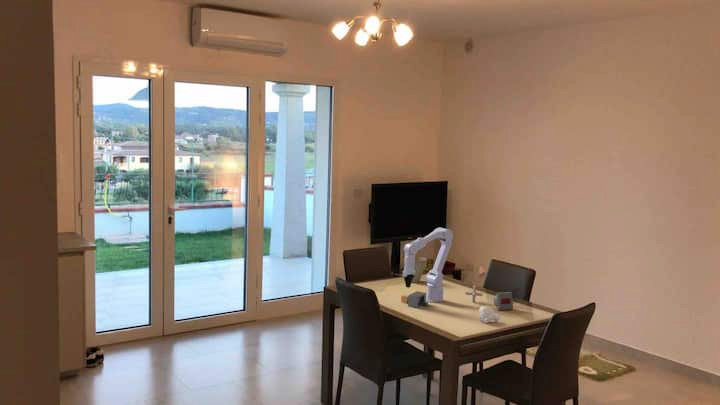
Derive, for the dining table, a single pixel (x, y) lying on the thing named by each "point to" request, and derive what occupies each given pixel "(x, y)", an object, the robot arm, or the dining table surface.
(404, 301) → the plug
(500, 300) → the voltmeter
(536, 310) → the dining table surface
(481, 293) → the toy jack
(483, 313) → the white lumpy piece
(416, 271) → the plant pot
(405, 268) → the robot arm
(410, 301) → the housing
